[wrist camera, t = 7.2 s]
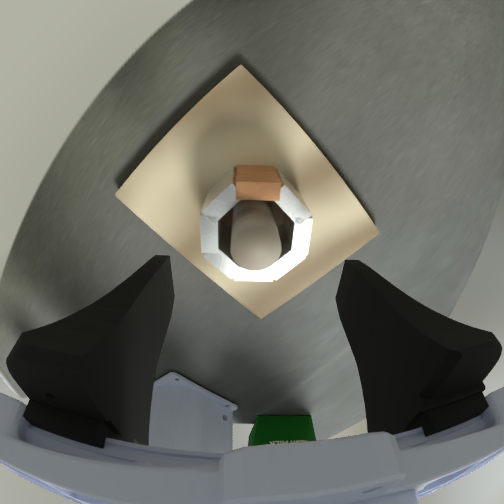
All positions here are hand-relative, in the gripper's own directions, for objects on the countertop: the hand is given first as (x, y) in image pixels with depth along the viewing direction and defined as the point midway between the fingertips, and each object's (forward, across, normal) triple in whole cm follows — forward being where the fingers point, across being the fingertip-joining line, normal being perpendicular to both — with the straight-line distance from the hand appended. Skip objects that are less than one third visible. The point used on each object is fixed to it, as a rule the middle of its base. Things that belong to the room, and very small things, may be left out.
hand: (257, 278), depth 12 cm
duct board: (+8, 0, 0) cm, 8 cm away
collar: (+7, 0, 0) cm, 7 cm away
